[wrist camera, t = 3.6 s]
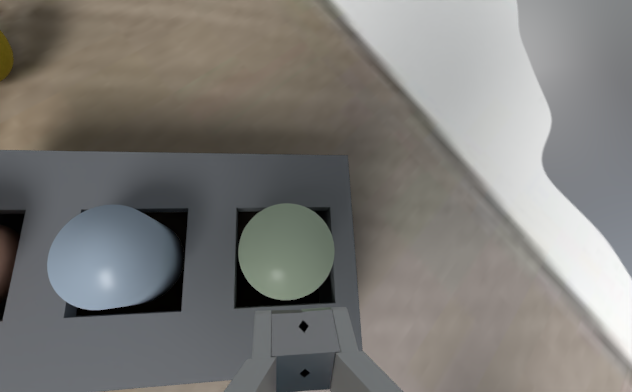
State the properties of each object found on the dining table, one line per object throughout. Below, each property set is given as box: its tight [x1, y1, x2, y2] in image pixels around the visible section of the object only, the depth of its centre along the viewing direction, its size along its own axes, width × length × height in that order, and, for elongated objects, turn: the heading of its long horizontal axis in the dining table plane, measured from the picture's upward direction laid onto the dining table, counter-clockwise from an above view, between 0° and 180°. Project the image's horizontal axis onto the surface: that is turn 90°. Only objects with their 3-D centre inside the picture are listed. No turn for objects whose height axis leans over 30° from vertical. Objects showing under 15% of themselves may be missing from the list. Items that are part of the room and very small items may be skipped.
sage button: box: [238, 203, 335, 300], centre depth 17 cm, size 5×5×4 cm
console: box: [0, 150, 362, 392], centre depth 20 cm, size 24×12×8 cm, turn 93°
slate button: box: [47, 205, 184, 310], centre depth 16 cm, size 5×5×4 cm
